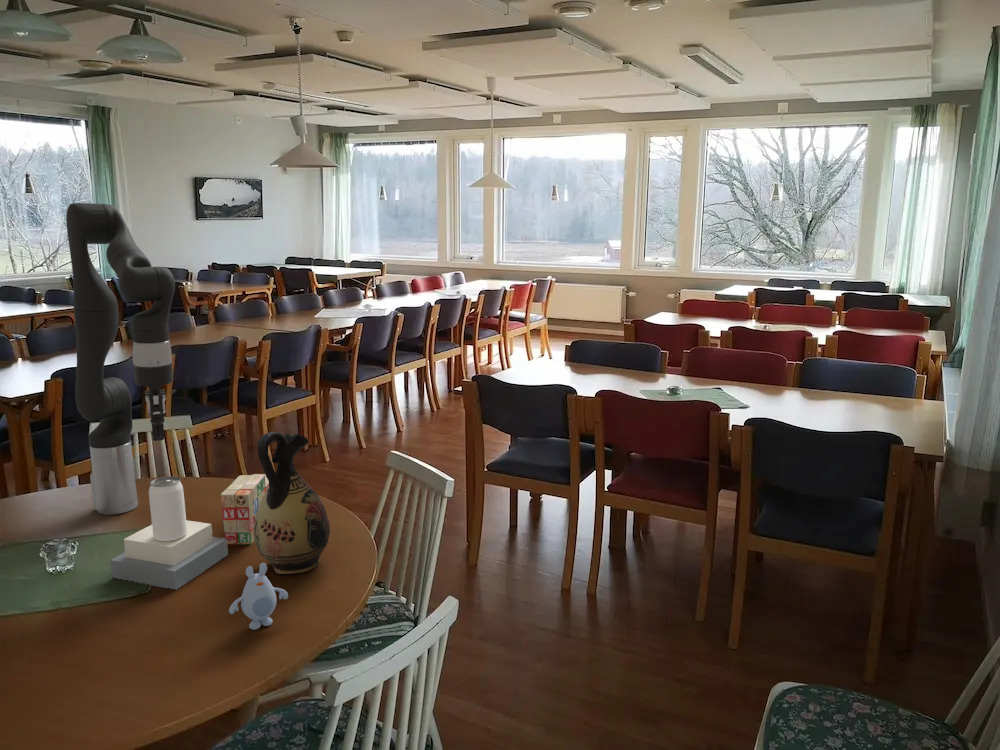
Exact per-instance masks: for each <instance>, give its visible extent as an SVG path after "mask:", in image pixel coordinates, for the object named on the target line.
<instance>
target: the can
mask: <svg viewBox="0 0 1000 750" xmlns="http://www.w3.org/2000/svg"><path fill="white" fill-rule="evenodd" d="M149 485H150V486H149V488H148V498H149V509H150V518H151V525H152V529H153V537H154V539H156V540H157V541H159V542H171V541H176V540H179V539H181V538H183V537H184V536H185V535H186V534H187V523H186V520H187V516H186V515H187V514H186V501H185V494H184V486H183V484H182V483H181V478H179V477H177V476H163V477H158V478H155V479H153V480H151V481H150V483H149Z"/></svg>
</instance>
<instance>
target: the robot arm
mask: <svg viewBox="0 0 1000 750" xmlns="http://www.w3.org/2000/svg"><path fill="white" fill-rule="evenodd" d="M65 216H66V218H65V219H66V223H65V224H66V231H67V239H68V248H69V255H70V261H71V262H70V263H71V270H72V287H73V317H74V327H75V341H76V342H75V343H76V375H75V393H74V394H75V396H74V397H75V404H76V408H77V411H78V412H79V415H81V416H82V419H85V420H86V421H91V422H94V421H99V423H98V424H97V426H96V427H95V428H94V429H93V430H92V431H91V432H90V433H89V435H88V445H89V452H90V461H91V467H92V468H91V469H92V473H90V475H89V478H90V485H91V486H90V487H91V493H92V502H93V509H94V511H97V513H98V514H101V515H107V516H111V515H119V514H124V513H128V512H130V511H132V510H135V509H136V508H137V507H138V505H139V502H138V495H137V494H138V493H137V483H136V476H135V475H136V474H135V467H134V458H133V457H134V455H133V448H132V441H131V439H132V437H131V434H132V431H133V414H132V412H133V409H132V398H131V394H130V390H129V388H128V385H127V384H126V383H125V382H124V380H122V379H121V378H119V377H115V376H113V377H107V378H104V368H105V363H106V359H107V357H108V355H109V352H110V349H111V348H112V346H113V344H114V342H115V338H116V337H117V334H118V332H119V331H118V330H119V305H118V304H119V303H118V300H117V297H116V295H115V293H114V292H113V291H112V289H111V287H110V286H109V285H108V284H107V283H106V281H105V280H104V279H103V277H102V276H101V275H100V273H99V272H98V270H97V269H96V267H95V266H94V264H93V262H92V260H91V256H90V253H89V248H88V247H89V246H88V245H108V246H107V248H106V252H105V254H106V259H107V263H108V264H109V266H110V268H111V269H112V270H113V271H114V273H115V274H116V275H117V277H118V284H119V285H118V287H119V291H120V294H121V296H122V297H123V298H124V299H125V300H127V301H129V302H133V303H139V302H140V303H141V302H153V304H152V306H150V308H148V309H147V310H144V311H140V312H137V313H135V314H133V315H132V316H131V331H132V362H133V375H134V376H133V377H134V383H135V384H136V386H140V387H148V388H147V389H148V390H145V391H144V394H145V395H144V396H145V397H144V398H145V402H146V406H147V414H148V415H149V416H150V422H149V423H150V424H151V430H152V440H153V441H155V442H156V441H164V440H165V430H164V424H165V419H166V418H164V414H165V413H166V403H165V401H166V397H167V396H166V390H165V389H161V388H162V386H168V385H170V384H171V383H173V381H174V370H173V369H174V368H173V357H172V347H171V343H170V332H169V331H170V330H169V317H170V312H171V308H172V301H173V299H174V294H175V290H176V281H175V277H174V274H173V273H172V272H171V270H170V269H169V268H167V267H165V266H152V264H151V261H150V260H149V258H148V257H147V256H146V255H145V253H144V252H143V251H142V250H141V249H140V247H139V246H138V245H137V243H136V242H135V240H134V238H133V236H132V234H131V231H130V229H129V227H128V225H127V223H126V221H125V219H124V217H123V215H122V214H121V212H120V210H119V209H118V208H117V207H116V206H114V205H112V204H107V203H93V202H92V203H89V202H88V203H86V202H80V203H79V202H73V203H70V204H69V205H68V206H67V210H66V215H65Z"/></svg>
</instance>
